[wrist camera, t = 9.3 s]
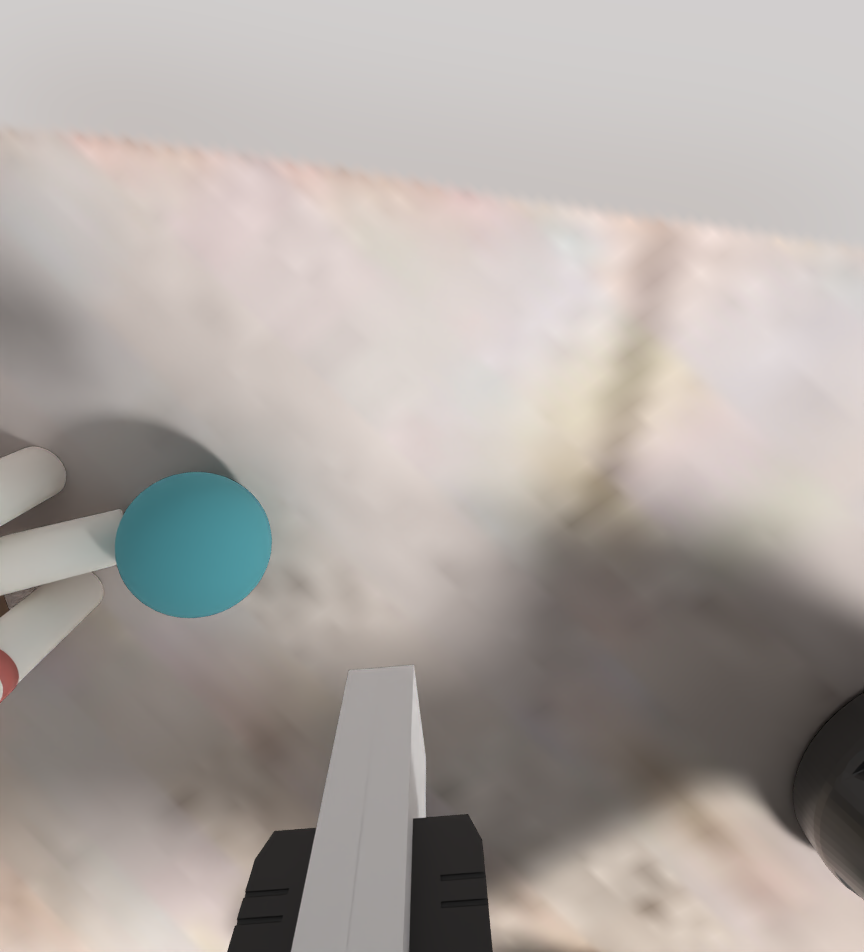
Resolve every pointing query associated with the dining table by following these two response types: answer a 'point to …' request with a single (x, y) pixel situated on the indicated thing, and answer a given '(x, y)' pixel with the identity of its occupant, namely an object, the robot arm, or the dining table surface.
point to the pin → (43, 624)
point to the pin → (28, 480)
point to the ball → (193, 544)
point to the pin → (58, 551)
